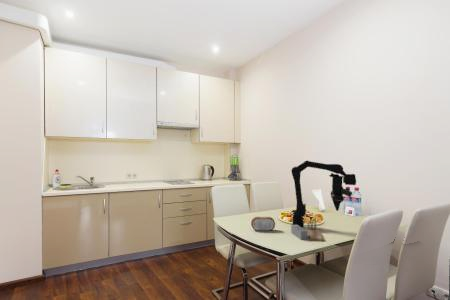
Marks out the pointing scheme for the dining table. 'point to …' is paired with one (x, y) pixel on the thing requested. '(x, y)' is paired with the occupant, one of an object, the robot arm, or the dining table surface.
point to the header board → (314, 232)
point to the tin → (263, 223)
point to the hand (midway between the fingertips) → (336, 208)
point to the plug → (299, 232)
